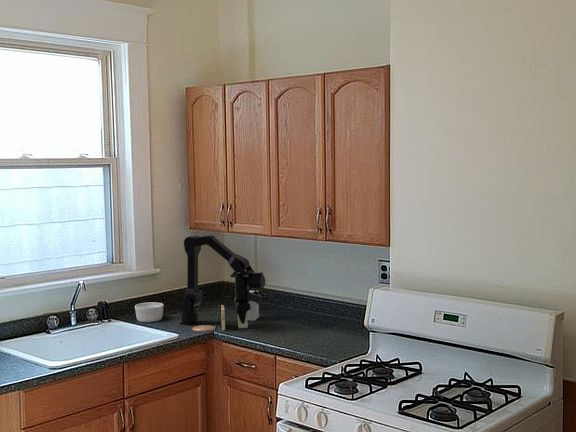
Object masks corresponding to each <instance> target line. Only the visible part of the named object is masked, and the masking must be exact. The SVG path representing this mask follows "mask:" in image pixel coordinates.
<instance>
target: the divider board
mask: <svg viewBox="0 0 576 432" xmlns="http://www.w3.org/2000/svg"><path fill="white" fill-rule="evenodd" d="M220 312H221V329H222V331H226V321H225V320H226V319H225V318H226V315H225V306H224V304H221V305H220Z"/></svg>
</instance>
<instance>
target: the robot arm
mask: <svg viewBox="0 0 576 432" xmlns="http://www.w3.org/2000/svg"><path fill="white" fill-rule="evenodd" d="M205 245H206V246H208V247H209V248H211V249H212V250H213V251H215V252H216V253H217V254H218V255H219V256H221V257H222V258H223V259H224V260H226V262H228V264H229V267H230V268H231V269H232V270H233V272H232V273H231V274H230V275H229V276H230V278H234V293H235V297H234V298H233V300H234V301H233V303H234V306H235V311H236V313H237V317H238V316H239V318H240V320H241V323H242V324H243V323H244V322H245V317H246V312H247V311H248V310H251V308H250V303H248V302H250V301H253V302H256V303H258V304H259V305H260V303H261V301H262V295H260V294H259V290H253V291H254V292H253V293H252V292H249V291H250V289H249V288H252V289H264V288H265V287H266V280H267V279H266V277H265V275H264V272H261V271H259V272H255V270H254V269H253V268H252V266H251V265H250V261H249V260H248V258H246V257H244V256H242V255H240V254H237V253H235V252H234V251H232V250H231V249H230V248H229V247H228V246H226V245H225V244H224V243H223V242H221V241H220V240H219V239H217V238H216V237H215V235H213V234H209V235H204V236H199V235H197V234H196V235H190V236H187V237H185V239H183V247H184V251H185V254H186V257H187V279H186V280H187V283H186V284H187V288H186V290H185V292H184V297H183V301H182V303H181V304H180V305H179V306H178V310H179V311H180V312H181V321H180V322H179V324H180V325H185V326H186V325H187V326H188V325H190V326H193V325H196V324H197V323H199V322H200V320H199V318H198V317H199V313H198V311H197V310H198V308H199V306H200V304H201V303H202V301H203V299H204V298H203V290H200V287H199V254H200V253H201V252H200V251H201V250H202V246H205Z"/></svg>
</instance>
